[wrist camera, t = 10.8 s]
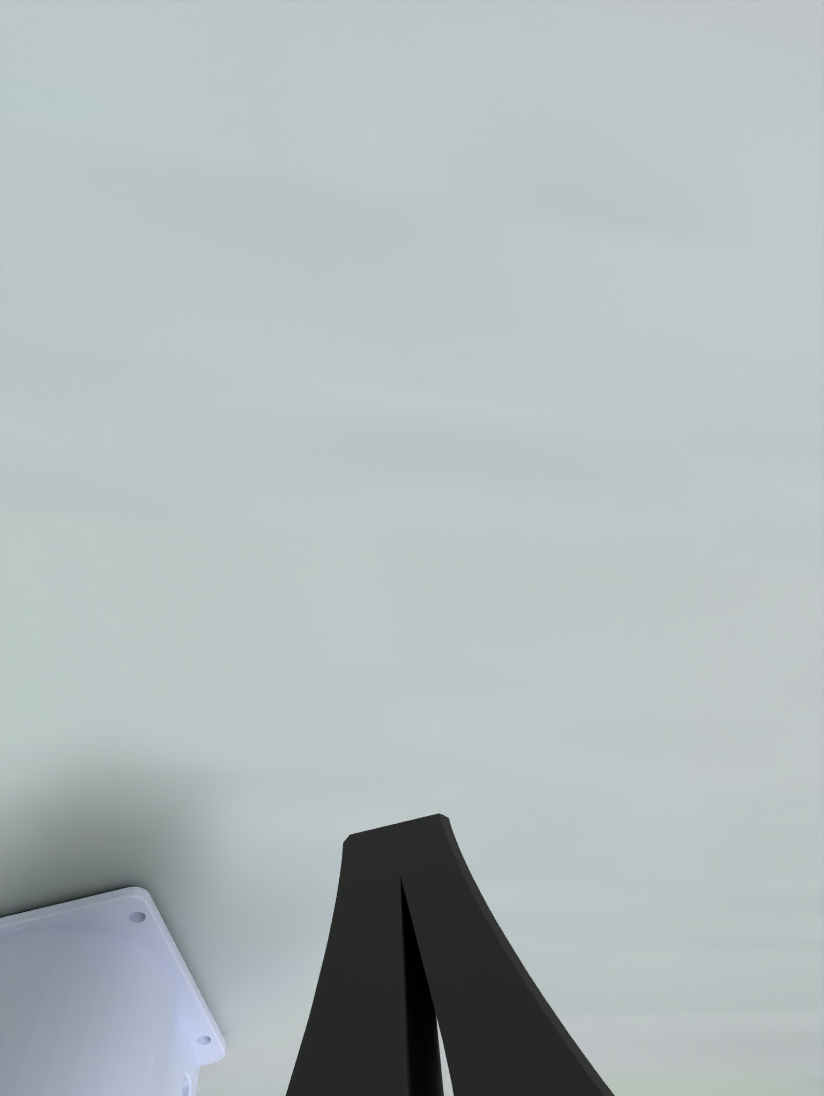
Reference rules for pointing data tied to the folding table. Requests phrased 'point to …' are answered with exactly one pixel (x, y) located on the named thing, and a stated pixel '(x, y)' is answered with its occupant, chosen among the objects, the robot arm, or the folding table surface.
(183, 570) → the folding table surface
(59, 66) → the folding table surface
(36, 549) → the folding table surface
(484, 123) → the folding table surface
